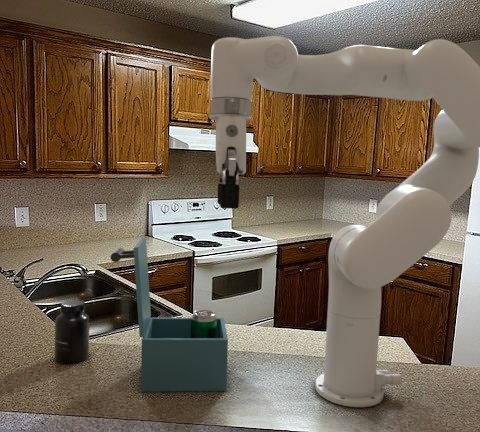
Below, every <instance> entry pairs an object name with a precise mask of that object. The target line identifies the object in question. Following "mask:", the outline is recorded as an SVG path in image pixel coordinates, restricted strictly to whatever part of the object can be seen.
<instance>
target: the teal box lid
mask: <svg viewBox="0 0 480 432" xmlns="http://www.w3.org/2000/svg"><path fill="white" fill-rule="evenodd" d="M123 259H133V264H134V275H135V290H136V291H135V293H136V304H137V305H136V307H137V316H138V317H137V320H138V334H139V338H143V337H144V335H145V332H146V329H147V326H148V323H149V320H150V318H151V316H152V311H151V308H152V307H151V296H150V295H151V294H150V279H149V265H148V264H149V263H148V251H147V237H141V238H140V239H139V241H138V242H137V243H136V244H135V245H134V246H133V247H132V249H131V250H124V249H123V248H121V247H118V248H117V249H115V250H114V251H113V252H112V253H111V255H110V260H111V261H112V262H114V263H117V262H120V260H123Z"/></svg>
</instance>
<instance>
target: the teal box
mask: <svg viewBox="0 0 480 432" xmlns="http://www.w3.org/2000/svg"><path fill="white" fill-rule="evenodd" d="M216 318H217V331H216V338H191V317H150V320H149V323H148V326H147V329H146V332H145V335H144V337H141V359H140V361H141V363H140V364H141V365H140V366H141V367H140V392H141V393H142V392H223V391H224V392H227V381H228V379H227V375H228V352H229V351H228V347H229V337H228V333H227V327H226V322H225V318H224V317H216Z"/></svg>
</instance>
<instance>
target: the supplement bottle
mask: <svg viewBox="0 0 480 432" xmlns="http://www.w3.org/2000/svg"><path fill="white" fill-rule="evenodd" d="M59 312H60V314H59V315H58V316H56V318H55V321H54V359H55V361H57V363H60V364H69V365H70V364H77V363H80V362H83V361H86V359H87V358H88V357H89V354H90V353H89V352H90V317H89V315H88V314H87V313H85V312H86V302H85V301H84V300H81V299H69V300H64V301H62V302H60V310H59Z"/></svg>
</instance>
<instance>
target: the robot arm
mask: <svg viewBox="0 0 480 432" xmlns="http://www.w3.org/2000/svg"><path fill="white" fill-rule="evenodd" d="M210 55H211V57H210V58H211V59H210V89H209V90H210V91H209V92H210V93H209V94H210V95H209V120H211V121H215V166H216V172H217V173H218V174H219V179H218V183H217V204H218V205H219V207H220V208H221V209H235V210H237V209H238V208H239V207H240V185H239V184H240V183H239V181H240V180H239V179H240V177H239V175H245V174H246V173H247V122H251V121H252V105H253V102H252V101H253V82H254V79H255V80H256V82H257V83H258V84H259V85H260V86H261V87H262V88H263V89H265V90H268V91H271V92H275V93H276V92H277V93H285V94H286V93H287V94H296V95H309V96H311V95H312V96H314V95H316V96H324V95H325V96H358V97H359V96H360V97H361V96H362V97H370V98H382V99H390V100H401V101H413V102H422V101H427V100H431V99H433V100H434V101H435V103H436V104H437V105H438V106H439V107H440V109H441V111H440V112H439V113H438V115H437V116H436V118H435V120H434V123H433V130H432V132H433V133H432V134H433V149H432V152H431V155H430V156H429V158H428V159H427V160H426V161H425V162H424V163H423V164H422V165H421V166H420V167H419V168H418V169H417V170H416V171H414V172H413V173H412V174H411V175H410V176H408V177H407V178H406V179H405V180H404V181H402V182H401V183H399V185H398V186H396V187H395V188H394V189H393V190H391V191H390V192H388V193H387V194H385V196H384V197H383V198H382V199H381V200H380V202H378V203H379V204H378V206H377V208H376V219H375V220H373V221H372V222H371V223H370V224H369V225H367V226H365V225H363V224H350V225H345V226H344V227H341V228H340V229H339V230H338V231H337V232H335V234H334V235H333V237H332V239H331V241H330V243H329V248H328V256H327V257H328V260H327V261H328V296H327V297H328V299H327V300H328V301H327V315H326V316H327V317H326V331H325V332H326V333H325V349H324V350H325V351H324V368H323V373H321V374H320V375H318V376H317V377H316V378H315V380H314V389H315V391H316V392H317V394H318V395H320V396H321V397H322V398H323V399H325V400H326V401H329V402H331V403H333V404H336V405H340V406H343V407H350V408H369V407H373V406H376V405H378V404H380V403H381V402H382V401H383V399H384V395H385V394H384V393H385V391H384V387H385V386H386V385H390V386H400V385H402V381H403V380H402V376H401V374H400V373H390V371H389V370H388V369H378V368H377V366H378V353H379V337H380V323H381V311H382V287H385V286H386V285H388V284H390V283H392V282H393V281H394V280H395V279H397V278H399V277H400V276H402V274H403V273H404V272H406V271H407V270H409V269H410V268H411V267H412V266H414V265H415V264H416V263H417V262H418V261H419V260H421V259H422V258H423V257H425V255H427V254H428V253H429V252H430V251H431V250H433V249H434V248H435V247H436V246H438V244H439V243H440V242H441V241H442V240H443V239H444V238H445V236H446V235H447V233H448V232H449V230H450V227H451V224H452V218H453V216H452V210H451V206H452V204H453V203H455V201H457V200H458V199H459V198H460V197H461V196H462V195H463V194H464V193H466V191H467V190H468V189H469V188H470V187H471V185H472V184H473V182H474V181H475V178H476V175H477V172H478V167H479V160H480V159H479V158H480V66H479V64H478V63H477V62H476V61H475V60H474V59H473V58H472V57H471V55H469V54H468V53H467V51H465V50H464V49H463V48H462V47H460V46H459V45H458V44H456V43H455V42H453V41H451V40H448V39H445V38H444V39H443V38H437V39H432V40H430V41H427V42H426V43H424V44H422V45H421V46H420V47H419V48H418V49H409V48H408V49H407V48H397V47H385V46H377V45H376V46H375V45H367V44H366V45H365V44H356V45H351V46H347V47H344V48H342V49H339V50H336V51H333V52H329V53H325V54H315V55H314V54H299V53H298V49H297V47H296V45H295V44H294V42H292V40H291V39H289V38H287V37H285V36H282V35H268V36H262V37H261V36H260V37H253V38H245V39H244V38H240V37H234V36H233V37H222V38H221V37H220V38H219V39H216V40H215V41H214V43H212V46H211V53H210Z"/></svg>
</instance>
